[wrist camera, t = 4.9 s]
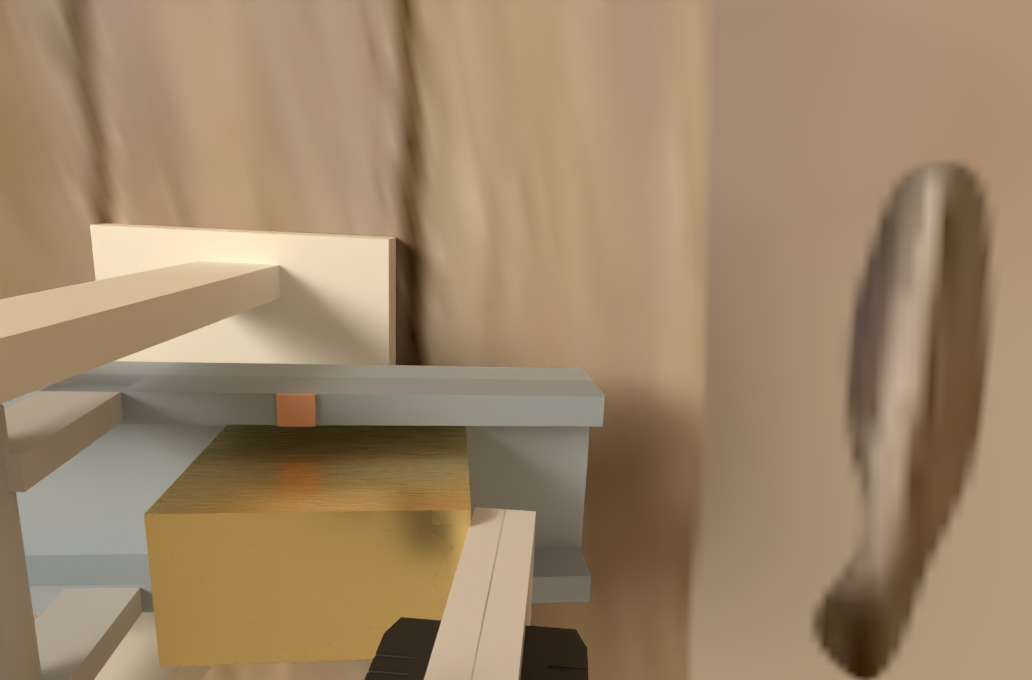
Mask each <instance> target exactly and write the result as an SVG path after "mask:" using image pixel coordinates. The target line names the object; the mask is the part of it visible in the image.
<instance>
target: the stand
mask: <svg viewBox="0 0 1032 680" xmlns="http://www.w3.org/2000/svg"><path fill="white" fill-rule="evenodd" d="M90 229H91V239H92V248H93V258H94V267H95V277H96V281H92V282H87V283H82V284H77V285H72V286H67V287H61V288H56V289H51V290H46V291H41V292H36V293H31V294H26V295H20V296H15V297H10V298H5V299H0V404H2V403H5V402H7V401H10V400H13V399H15V398H18V397H20V396H23V395H26V394H28V393H31V392H34V391H36V390H39V389H42V388H44V387H47V386H49V385H52V384H55V383H57V382H60V381H63V380H65V379H68V378H71V377H73V376H76V375H78V374H81V373H84V372H86V371H89V370H92V369H94V368H97V367H100V366H102V365H105V364H108V363H110V362H113V361H128V362H199V363H270V364H341V365H396V237H380V236H359V235H338V234H318V233H297V232H276V231H255V230H234V229H214V228H193V227H172V226H151V225H130V224H110V223H108V224H95V225H90ZM211 666H212V665H196V666H168V667H160V665H159V656H158V646H157V636H156V626H155V617H154V612H142V614H141V615H140V617H139V618H138V619H137V621H136V622H135V623H134V625H133V626H132V628H131V629H130V630H129V632H128V633H127V635H126V636H125V637H124V639H123V640H122V642H121V643H120V644H119V646H118V647H117V649H116V650H115V651H114V653H113V654H112V655H111V657H110V658H109V660H108V661H107V662H106V664H105V665H104V667H103V668H102V669H101V671H100V672H99V674H98V675H97V676H96V678H95V679H94V680H202V678H203V677H204V676H205V674H206V673H207V672H208V670H209V669H210V668H211Z"/></svg>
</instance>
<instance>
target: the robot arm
mask: <svg viewBox="0 0 1032 680" xmlns="http://www.w3.org/2000/svg"><path fill="white" fill-rule="evenodd" d="M535 522H536V511H523V510H509V509H494V508H480V507H475V509H474V512H473V516H472V519H471V527H469V529H468V533H467V536H466V539H465V543H464V546H463V549H462V553H461V556H460V560H459V563H458V566H457V570H456V573H455V576H454V580H453V583H452V586H451V590H450V593H449V597H448V600H447V603H446V607H445V610H444V613H443V617H442V620H430V619H418V618H406V617H401V618H400V619H399V620H398V621H397V622H395V623H394V624H393V625H392V626H391V627H390V628H389V629H388V630H387V631H386V632H385V633H384V634H383V637H382V639H381V642H380V644H379V646H378V649H377V651H376V656H375V657H374V658H373V661H372V663H371V666H370V668H369V673H367V675H366V678H365V680H588V660H587V647H586V646H585V644H584V642H583V641H582V639H581V637H580V636H579V634H578V632H577V631H576V630H575V629H562V628H550V627H538V626H530V622H531V611H532V589H533V567H534V545H535Z"/></svg>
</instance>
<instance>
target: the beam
mask: <svg viewBox="0 0 1032 680" xmlns="http://www.w3.org/2000/svg"><path fill="white" fill-rule="evenodd" d="M604 402H605V396H604V395H603V393H602V392H601V390H600V389H599V388H598V386H597V385H596V384H595V382H594V381H593V379H592V378H591V377H590V375H589V374H588V372H587V371H586V370H585V368H554V367H483V366H412V365H341V364H270V363H199V362H128V361H113V362H110V363H108V364H105V365H102V366H100V367H97V368H94V369H92V370H89V371H86V372H84V373H81V374H78V375H76V376H73V377H71V378H68V379H65V380H63V381H60V382H57V383H55V384H52V385H49V386H47V387H44V388H42V389H39V390H36V391H34V392H31V393H28V394H26V395H23V396H20V397H18V398H15V399H13V400H10V401H7V402H5V403H2V404H0V680H94V679H95V678H96V676H97V675H98V674H99V672H100V671H101V669H102V668H103V667H104V665H105V664H106V662H107V661H108V660H109V658H110V657H111V655H112V654H113V653H114V651H115V650H116V649H117V647H118V646H119V644H120V643H121V642H122V640H123V639H124V637H125V636H126V635H127V633H128V632H129V630H130V629H131V628H132V626H133V625H134V623H135V622H136V621H137V619H138V618H139V617H140V615H141V614H142V612H154V607H153V597H152V587H151V578H150V568H149V558H148V548H147V539H146V529H145V519H144V514H145V513H146V512H147V511H148V509H149V508H150V507H151V506H152V505H153V504H154V503H155V502H156V501H157V500H158V499H159V498H160V497H161V496H162V494H163V493H164V492H165V491H166V490H167V489H168V488H169V487H170V486H171V485H172V484H173V483H174V482H175V480H176V479H177V478H178V477H179V476H180V475H181V474H182V473H183V472H184V471H185V470H186V469H187V468H188V466H189V465H190V464H191V463H192V462H193V461H194V460H195V459H196V458H197V457H198V456H199V455H200V454H201V453H202V451H203V450H204V449H205V448H206V447H207V446H208V445H209V444H210V443H211V442H212V441H213V440H214V439H215V437H216V436H217V435H218V434H219V433H220V432H221V431H222V430H223V429H224V428H225V427H226V426H227V425H278V427H316V425H389V426H466V435H467V452H468V469H469V486H470V503H471V519H472V516H473V512H474V509H475V507H480V508H494V509H509V510H523V511H536V522H535V545H534V567H533V589H532V604H533V603H577V602H590V588H591V573H590V571H589V568H588V565H587V562H586V559H585V557H584V554H583V551H582V548H581V545H582V531H583V517H584V503H585V489H586V474H587V460H588V446H589V432H590V426H594V427H603V415H604ZM34 615H40V616H39V617H38V618H37V619H36V620H35V621H34Z"/></svg>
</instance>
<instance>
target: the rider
mask: <svg viewBox="0 0 1032 680" xmlns="http://www.w3.org/2000/svg"><path fill="white" fill-rule="evenodd" d="M144 519H145V529H146V539H147V548H148V558H149V568H150V578H151V587H152V597H153V607H154V617H155V626H156V636H157V646H158V656H159V665H160V667H168V666H196V665H224V664H252V663H280V662H308V661H336V660H364V659H373V658H374V657H375V656H376V651H377V649H378V646H379V644H380V642H381V639H382V637H383V634H384V633H385V632H386V631H387V630H388V629H389V628H390V627H391V626H392V625H393V624H394V623H395V622H397V621H398V620H399V619H400V618H401V617H406V618H418V619H430V620H442V617H443V613H444V610H445V607H446V603H447V600H448V597H449V593H450V590H451V586H452V583H453V580H454V576H455V573H456V570H457V566H458V563H459V560H460V556H461V553H462V549H463V546H464V543H465V539H466V536H467V533H468V529H469V527H471V503H470V486H469V469H468V452H467V435H466V426H389V425H316V427H278V425H227V426H226V427H225V428H224V429H223V430H222V431H221V432H220V433H219V434H218V435H217V436H216V437H215V439H214V440H213V441H212V442H211V443H210V444H209V445H208V446H207V447H206V448H205V449H204V450H203V451H202V453H201V454H200V455H199V456H198V457H197V458H196V459H195V460H194V461H193V462H192V463H191V464H190V465H189V466H188V468H187V469H186V470H185V471H184V472H183V473H182V474H181V475H180V476H179V477H178V478H177V479H176V480H175V482H174V483H173V484H172V485H171V486H170V487H169V488H168V489H167V490H166V491H165V492H164V493H163V494H162V496H161V497H160V498H159V499H158V500H157V501H156V502H155V503H154V504H153V505H152V506H151V507H150V508H149V509H148V511H147V512H146V513H145V514H144Z"/></svg>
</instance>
